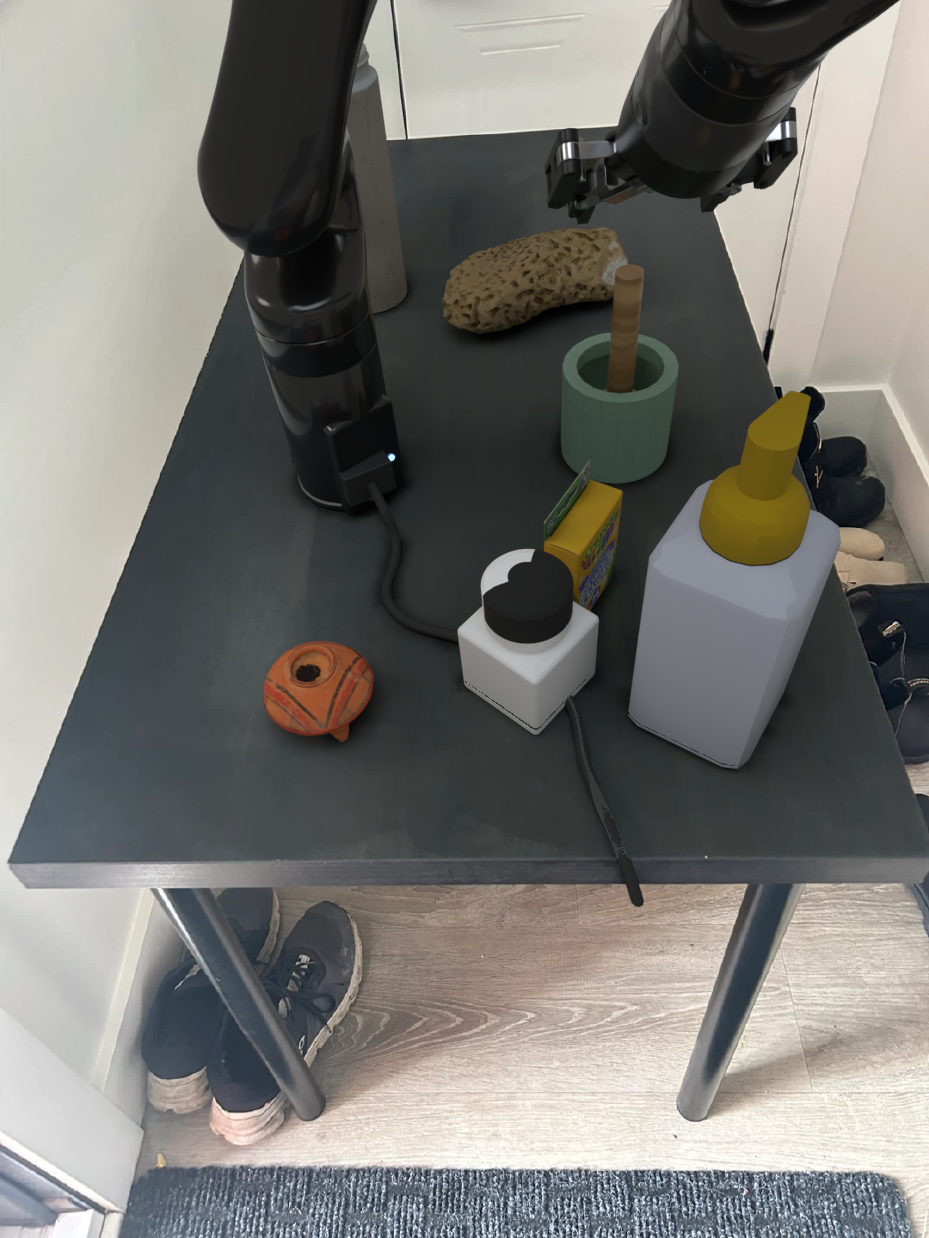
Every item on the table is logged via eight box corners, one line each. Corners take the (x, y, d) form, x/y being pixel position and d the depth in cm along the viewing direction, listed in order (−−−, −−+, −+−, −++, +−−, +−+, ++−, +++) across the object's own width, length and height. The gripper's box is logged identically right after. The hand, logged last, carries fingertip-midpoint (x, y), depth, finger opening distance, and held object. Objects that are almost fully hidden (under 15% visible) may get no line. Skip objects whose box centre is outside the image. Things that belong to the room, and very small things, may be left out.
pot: (271, 771, 63) (245, 702, 58) (282, 696, 69) (258, 629, 65) (383, 756, 62) (364, 686, 58) (383, 682, 69) (366, 614, 64)
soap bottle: (787, 685, 64) (894, 409, 45) (738, 780, 60) (833, 521, 40) (674, 636, 68) (726, 359, 48) (619, 722, 64) (653, 457, 44)
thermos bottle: (344, 275, 103) (289, -7, 81) (411, 274, 102) (374, -11, 80) (331, 314, 98) (268, 26, 76) (401, 314, 97) (359, 22, 75)
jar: (688, 448, 81) (702, 365, 74) (613, 499, 77) (621, 418, 70) (613, 400, 86) (619, 318, 78) (539, 446, 82) (539, 365, 75)
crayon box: (574, 641, 68) (579, 537, 59) (540, 626, 69) (540, 523, 60) (615, 577, 72) (626, 471, 63) (582, 564, 73) (588, 458, 64)
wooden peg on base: (629, 461, 79) (646, 289, 66) (589, 451, 80) (597, 280, 67) (642, 434, 81) (661, 263, 68) (602, 425, 82) (614, 255, 69)
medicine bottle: (596, 674, 66) (605, 569, 57) (536, 738, 63) (535, 638, 54) (522, 627, 69) (519, 520, 60) (462, 686, 66) (448, 583, 57)
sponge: (600, 270, 102) (429, 261, 98) (621, 210, 95) (438, 198, 91) (623, 354, 96) (441, 348, 92) (647, 297, 89) (453, 288, 85)
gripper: (847, -2, 44) (743, 136, 60) (562, 25, 44) (534, 156, 60) (853, 156, 45) (749, 250, 61) (573, 183, 45) (543, 270, 61)
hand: (642, 203), depth 61 cm, fingers open, 8 cm apart
